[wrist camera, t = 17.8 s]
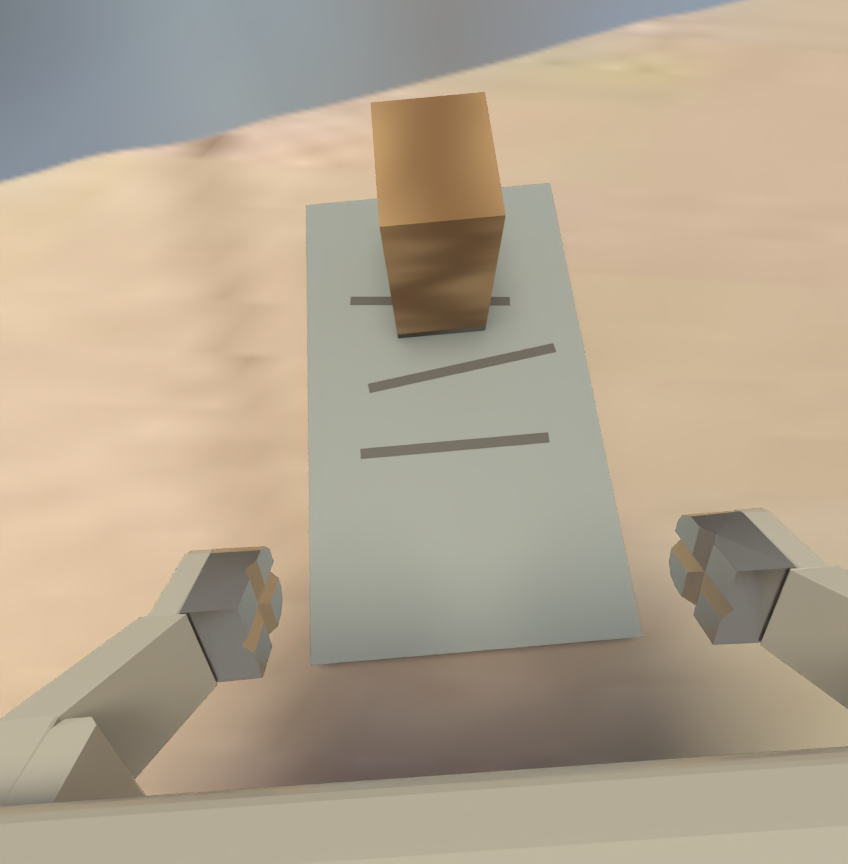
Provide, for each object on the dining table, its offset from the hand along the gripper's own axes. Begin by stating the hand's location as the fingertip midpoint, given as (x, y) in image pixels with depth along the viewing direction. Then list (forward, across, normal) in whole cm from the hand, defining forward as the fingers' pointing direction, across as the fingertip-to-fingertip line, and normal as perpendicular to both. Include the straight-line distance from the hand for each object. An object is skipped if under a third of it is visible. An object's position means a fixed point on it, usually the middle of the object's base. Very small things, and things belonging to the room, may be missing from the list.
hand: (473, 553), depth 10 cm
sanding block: (+19, 0, +2) cm, 19 cm away
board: (+16, 0, -4) cm, 16 cm away
